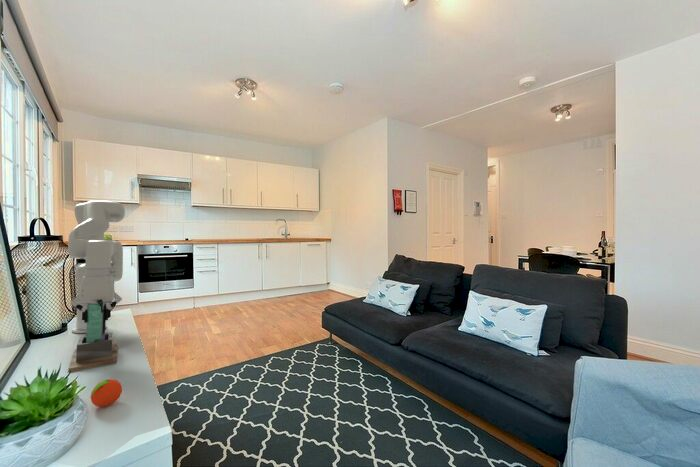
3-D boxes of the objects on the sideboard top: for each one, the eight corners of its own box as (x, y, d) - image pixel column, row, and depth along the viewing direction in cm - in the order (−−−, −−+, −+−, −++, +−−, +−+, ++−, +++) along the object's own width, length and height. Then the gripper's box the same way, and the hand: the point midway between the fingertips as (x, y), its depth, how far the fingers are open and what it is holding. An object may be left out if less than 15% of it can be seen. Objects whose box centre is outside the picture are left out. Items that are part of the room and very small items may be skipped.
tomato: (100, 416, 80) (101, 389, 80) (78, 412, 81) (80, 386, 81) (127, 400, 88) (128, 375, 88) (107, 397, 89) (108, 372, 89)
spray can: (108, 343, 117) (110, 291, 117) (95, 348, 112) (97, 294, 112) (95, 342, 117) (97, 290, 118) (81, 347, 112) (83, 293, 112)
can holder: (74, 352, 119) (75, 333, 119) (116, 345, 126) (117, 328, 126) (68, 372, 103) (68, 350, 103) (116, 363, 111) (117, 343, 111)
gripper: (126, 270, 123) (124, 315, 123) (68, 272, 112) (66, 321, 112) (126, 272, 117) (124, 319, 117) (65, 275, 106) (64, 326, 106)
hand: (96, 320), depth 115 cm, fingers closed on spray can, 5 cm apart
